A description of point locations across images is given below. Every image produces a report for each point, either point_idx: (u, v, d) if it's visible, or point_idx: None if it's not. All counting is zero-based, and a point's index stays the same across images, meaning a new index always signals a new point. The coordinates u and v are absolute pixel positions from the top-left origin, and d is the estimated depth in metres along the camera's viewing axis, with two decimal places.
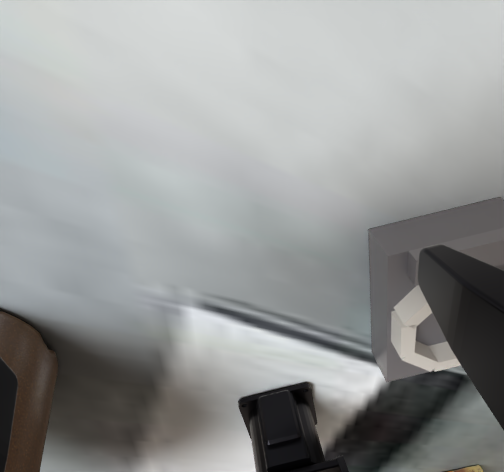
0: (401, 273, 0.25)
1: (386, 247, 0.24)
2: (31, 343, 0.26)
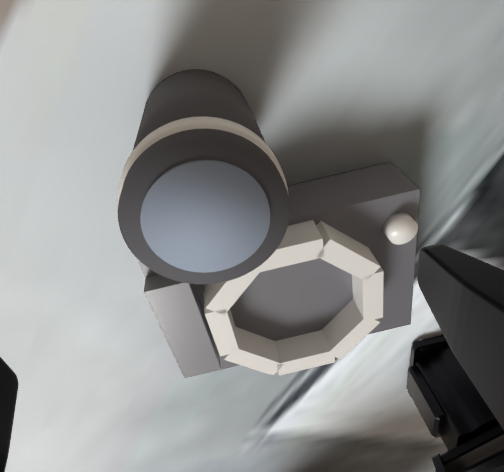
0: None
1: None
2: None
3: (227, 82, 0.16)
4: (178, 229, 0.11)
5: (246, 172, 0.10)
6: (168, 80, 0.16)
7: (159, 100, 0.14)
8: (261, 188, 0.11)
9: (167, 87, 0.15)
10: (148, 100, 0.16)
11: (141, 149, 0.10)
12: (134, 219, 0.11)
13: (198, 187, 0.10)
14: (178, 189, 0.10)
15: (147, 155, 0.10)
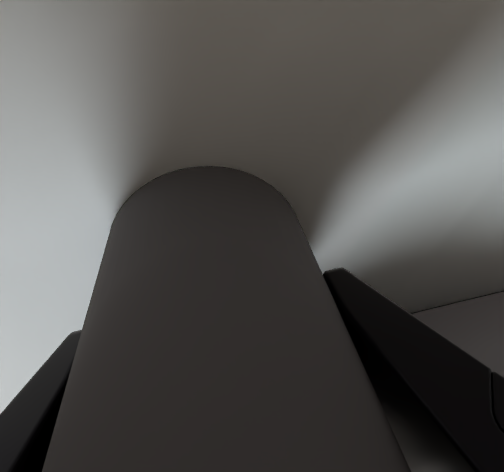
0: None
1: None
2: None
3: (265, 194, 0.08)
4: None
5: None
6: (151, 194, 0.08)
7: (125, 275, 0.06)
8: None
9: (146, 225, 0.07)
10: (113, 229, 0.08)
11: None
12: None
13: None
14: None
15: None
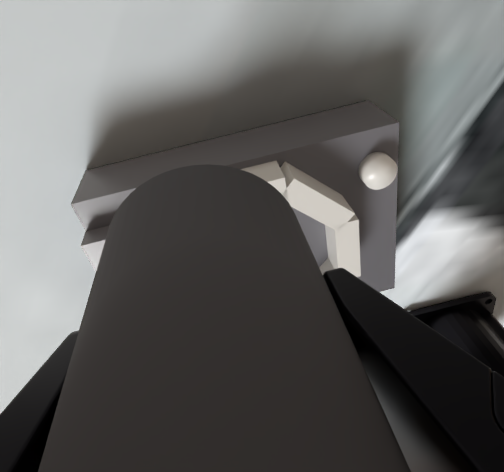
0: None
1: None
2: None
3: (264, 192, 0.08)
4: None
5: None
6: (149, 192, 0.08)
7: (123, 273, 0.06)
8: None
9: (144, 223, 0.07)
10: (111, 227, 0.08)
11: None
12: None
13: None
14: None
15: None
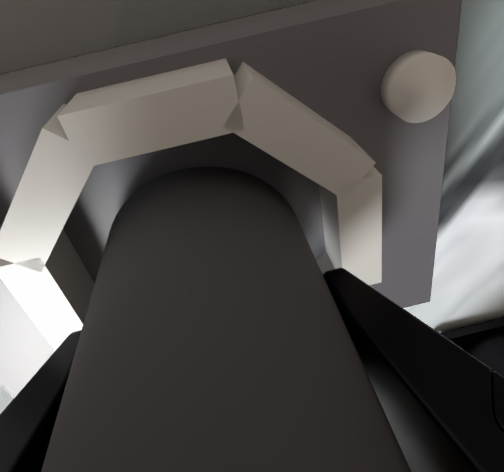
0: None
1: None
2: None
3: (265, 194, 0.08)
4: None
5: None
6: (151, 194, 0.08)
7: (125, 275, 0.06)
8: None
9: (146, 225, 0.07)
10: (113, 229, 0.08)
11: None
12: None
13: None
14: None
15: None
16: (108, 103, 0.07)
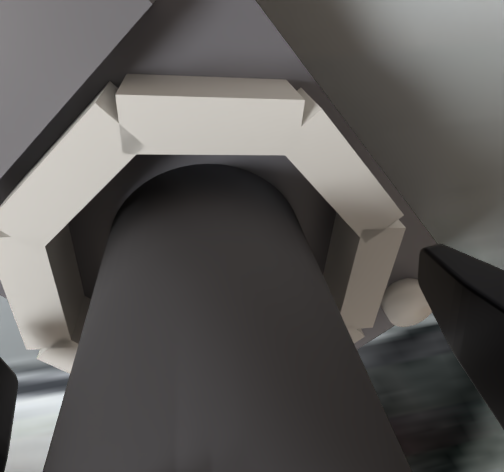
0: None
1: None
2: None
3: (264, 191, 0.08)
4: None
5: None
6: (151, 191, 0.08)
7: (126, 269, 0.06)
8: None
9: (147, 221, 0.07)
10: (114, 225, 0.08)
11: None
12: None
13: None
14: None
15: None
16: (347, 142, 0.07)
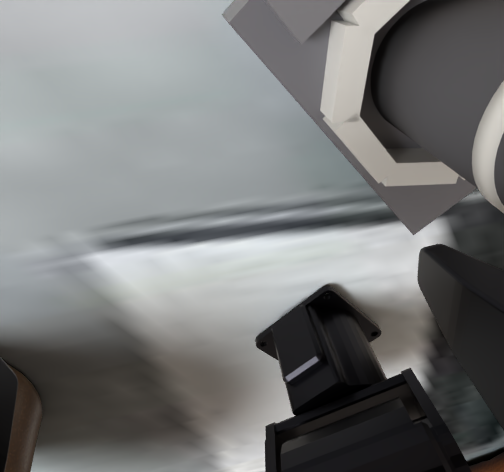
0: (281, 42, 0.14)
1: (231, 15, 0.14)
2: None
3: None
4: None
5: None
6: (425, 7, 0.13)
7: (458, 19, 0.11)
8: None
9: (445, 9, 0.12)
10: (397, 33, 0.14)
11: None
12: None
13: None
14: None
15: None
16: None
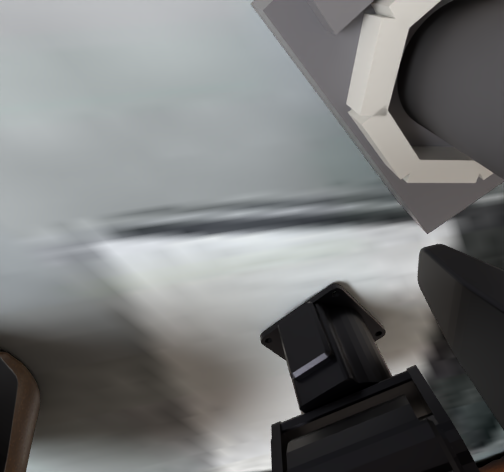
0: (313, 32, 0.14)
1: (264, 3, 0.14)
2: None
3: None
4: None
5: None
6: (459, 4, 0.13)
7: (496, 15, 0.11)
8: None
9: (481, 6, 0.12)
10: (429, 29, 0.14)
11: None
12: None
13: None
14: None
15: None
16: None
